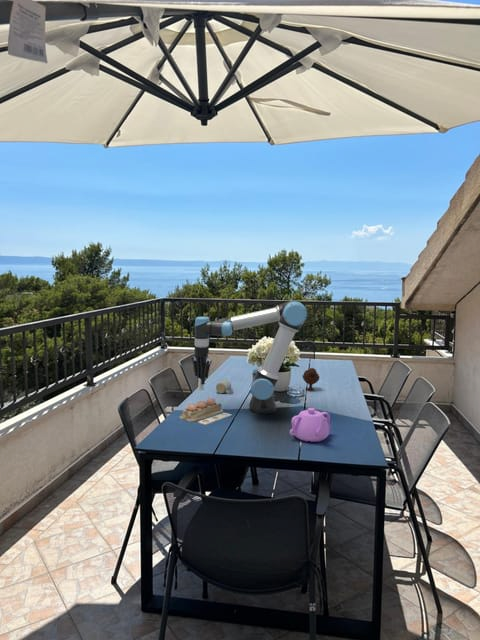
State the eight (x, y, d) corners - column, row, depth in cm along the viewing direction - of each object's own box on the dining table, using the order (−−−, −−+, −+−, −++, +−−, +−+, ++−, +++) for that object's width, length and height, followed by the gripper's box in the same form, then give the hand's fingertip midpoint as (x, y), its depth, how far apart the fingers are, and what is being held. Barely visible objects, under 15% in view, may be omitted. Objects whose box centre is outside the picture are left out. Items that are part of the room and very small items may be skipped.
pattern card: (231, 415, 246) (231, 414, 246) (205, 424, 231) (205, 423, 231) (224, 413, 249) (224, 412, 249) (198, 422, 234) (198, 421, 234)
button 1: (198, 411, 241) (198, 405, 240) (192, 413, 237) (192, 407, 237) (192, 409, 244) (192, 403, 243) (185, 411, 240) (185, 405, 240)
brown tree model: (321, 389, 302) (322, 367, 300) (314, 393, 292) (315, 370, 291) (306, 387, 307) (307, 365, 306) (299, 390, 298) (300, 368, 296)
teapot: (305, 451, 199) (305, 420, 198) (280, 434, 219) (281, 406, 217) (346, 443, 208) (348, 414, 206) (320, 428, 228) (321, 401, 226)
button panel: (223, 412, 252) (223, 404, 251) (192, 422, 234) (192, 413, 234) (209, 408, 258) (209, 400, 258) (179, 418, 241) (179, 409, 240)
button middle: (207, 408, 246) (207, 402, 246) (201, 410, 243) (201, 404, 242) (201, 406, 249) (201, 400, 249) (195, 408, 246) (195, 402, 245)
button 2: (216, 405, 251) (216, 399, 251) (210, 407, 248) (210, 401, 248) (210, 404, 254) (210, 397, 254) (204, 405, 251) (204, 399, 251)
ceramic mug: (215, 393, 290) (215, 381, 289) (220, 390, 297) (220, 378, 296) (230, 395, 286) (230, 383, 285) (235, 392, 293) (235, 380, 292)
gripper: (215, 346, 241) (214, 390, 243) (198, 343, 249) (197, 386, 252) (205, 348, 235) (204, 393, 238) (187, 345, 244) (187, 388, 246)
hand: (201, 389), depth 245 cm, fingers closed
